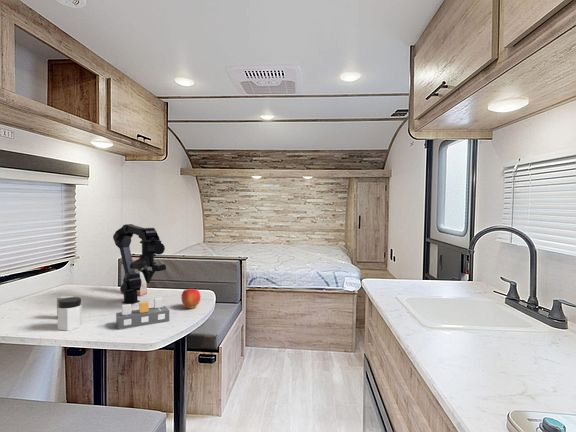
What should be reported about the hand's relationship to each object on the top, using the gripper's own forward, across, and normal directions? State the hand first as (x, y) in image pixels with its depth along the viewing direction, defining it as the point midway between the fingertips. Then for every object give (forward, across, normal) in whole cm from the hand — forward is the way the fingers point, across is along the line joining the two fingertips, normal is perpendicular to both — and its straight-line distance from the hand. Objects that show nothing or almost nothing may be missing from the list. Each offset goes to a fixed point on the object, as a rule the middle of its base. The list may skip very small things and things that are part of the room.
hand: (147, 283), depth 175 cm
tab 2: (+8, +15, -18) cm, 24 cm away
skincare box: (+13, -23, -27) cm, 38 cm away
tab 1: (+8, +11, -23) cm, 27 cm away
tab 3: (+8, +16, -10) cm, 20 cm away
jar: (+13, -10, -34) cm, 38 cm away
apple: (+13, +19, +10) cm, 25 cm away
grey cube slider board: (+13, +14, -17) cm, 25 cm away
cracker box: (+13, -28, +18) cm, 36 cm away
